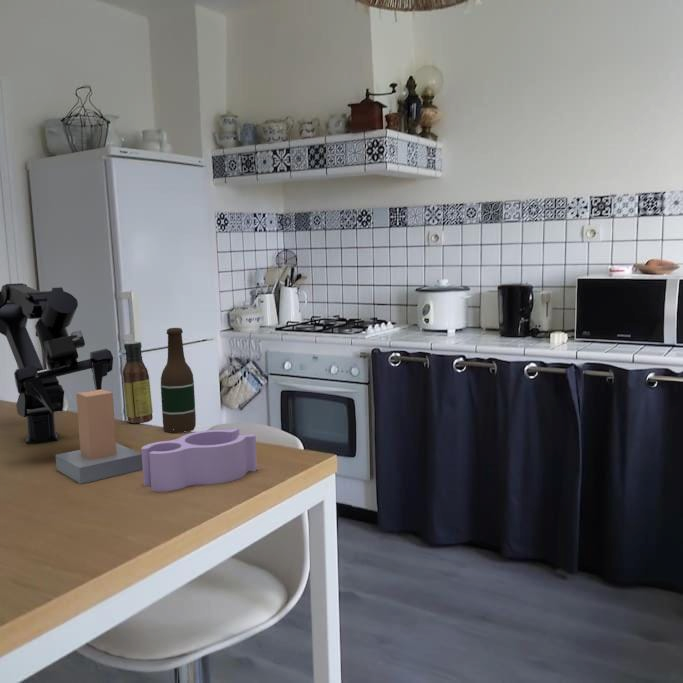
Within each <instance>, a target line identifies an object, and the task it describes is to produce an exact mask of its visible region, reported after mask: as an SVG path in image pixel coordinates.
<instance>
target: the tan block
mask: <svg viewBox="0 0 683 683" xmlns="http://www.w3.org/2000/svg"><path fill="white" fill-rule="evenodd" d="M113 394H114V392H111V391H108V390H105V389H103V388H101V390H96V389H95V390H90V391H83V392H76V394H75V395H76V408H77V421H78V434H79V435H78V437H79V448H80V449H79V450H80V452H81V455H83V456H85V457H87V458H89V459H90V460H92V459H97V458H102V457H106V456H111V455H115V454H117V451H116V443H117V439H116V425H115V424H116V423H115V409H114V408H115V407H114V395H113Z"/></svg>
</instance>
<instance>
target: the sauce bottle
mask: <svg viewBox="0 0 683 683" xmlns="http://www.w3.org/2000/svg"><path fill="white" fill-rule="evenodd" d="M123 346H124V348H123V349H124V350H125V357H126V358H125V364H124V367H123V370H122V377H123V378H122V380H123V391H124V403H125V412H126V417H127V421H128V423H129V422H130V424H136V423H137V424H145V423H148V422H151V421H152V420H153V411H154V410H153V402H152V393H151V384H150V383H151V382H150V375H149V370H148V369H147V366H146V365H145V363H144V360H143V356H142V348H143V347H142V341H130V342H124V343H123Z"/></svg>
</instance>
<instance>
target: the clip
mask: <svg viewBox="0 0 683 683" xmlns="http://www.w3.org/2000/svg"><path fill="white" fill-rule="evenodd" d="M256 443H257V442H256V434H240V428H238V427H234V428H231V429H209V430H200V431H194V432H191V433H187V434H184V435H182V436H180V437H178V438H176V439H172V440H162V441H156V442H152V443H149V444H145V445H143V446H142V447H141V454H142V466H143V469H142V479H143V480H142V481H143V486H144V487H149V486H150V487H151V489H150V490H151V492H158V493H160V492H173V491H176V490H181V489H183V488H186V487H189V486H195V485H217V484H218V485H219V484H223V483H224V484H226V483H228V482H229V483H230V482H232V481H236V480H238V479H241V478H243V477H244V476H245V475H247V473H249V472H248V471H252V472H256V470H257V471H258V469H257V468H258V465H257V464H258V463H257V445H256Z"/></svg>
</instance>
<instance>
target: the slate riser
mask: <svg viewBox="0 0 683 683" xmlns="http://www.w3.org/2000/svg"><path fill="white" fill-rule="evenodd" d="M116 451H117V454H115V455H111V456H106V457H102V458H97V459H92V460H90V459H89V458H87V457H85V456H83V455H81V452H80V449H77V450H73V451H66V452H63V453H58V454H57V453H56V454H55V464H56V466H55V467H56V471H58V472H60V473H62V474H63V475H65V476H67V477H68V478H69V479H71V480H73V481H75V482H77V483H78V484H80V485H82V484H86V483H90V482H94V481H99V480H103V479H108V478H112V477H116V476H121V475H124V474H130V473H133V472H137V471H141V470H142V471H143V466H142V453H140V452H137V450H133V449H131V448H129V447H127V446H125V445H122V444H120V443H118V442H116Z"/></svg>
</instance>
